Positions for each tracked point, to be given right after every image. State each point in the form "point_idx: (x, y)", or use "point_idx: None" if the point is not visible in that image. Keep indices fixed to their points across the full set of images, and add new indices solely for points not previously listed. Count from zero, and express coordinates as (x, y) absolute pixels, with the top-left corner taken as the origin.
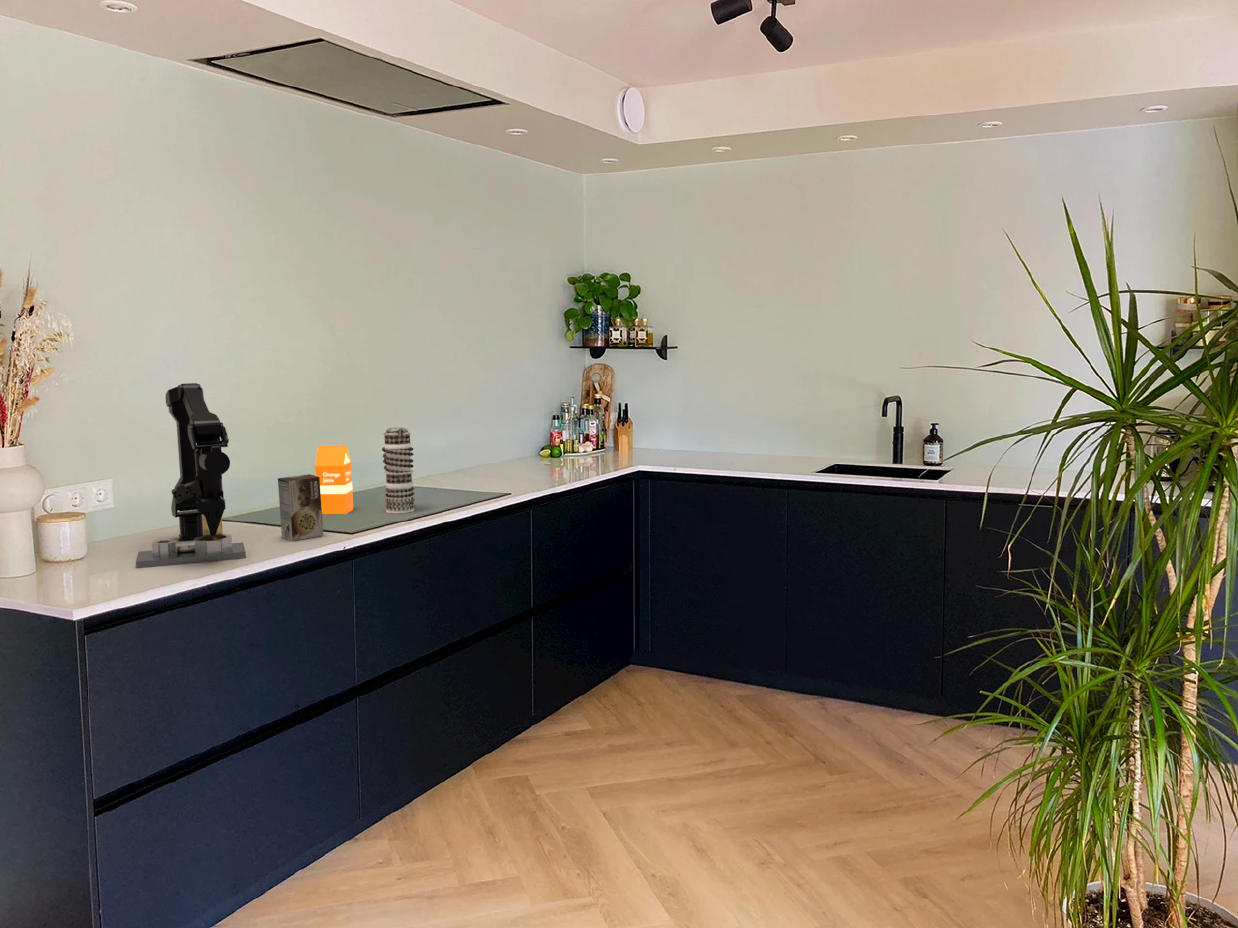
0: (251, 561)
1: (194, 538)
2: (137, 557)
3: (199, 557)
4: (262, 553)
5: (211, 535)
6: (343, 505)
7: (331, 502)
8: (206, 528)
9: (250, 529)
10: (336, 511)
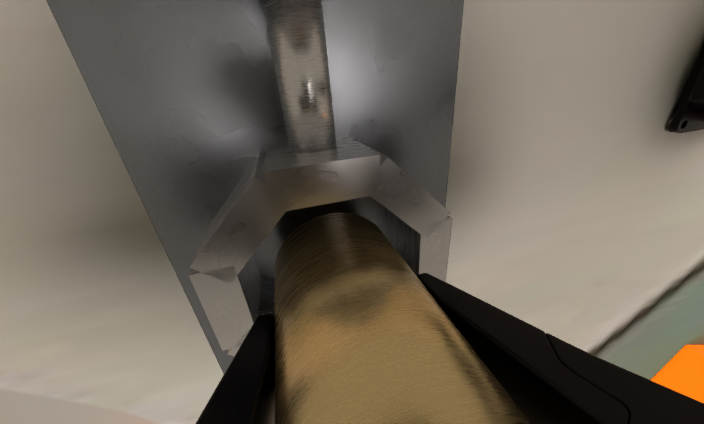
0: (150, 389)
1: (690, 86)
2: None
3: (140, 188)
4: None
5: (260, 318)
6: None
7: (697, 391)
8: (289, 333)
9: (668, 252)
10: (663, 378)
